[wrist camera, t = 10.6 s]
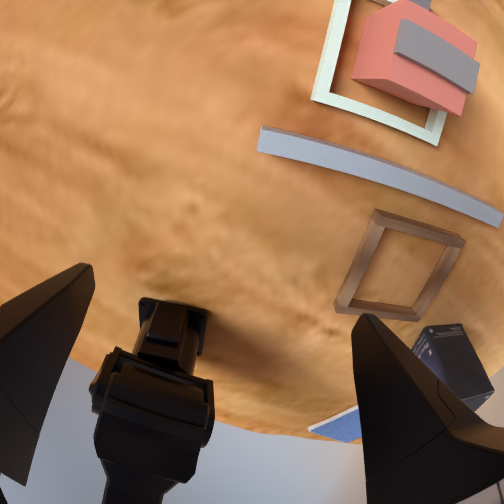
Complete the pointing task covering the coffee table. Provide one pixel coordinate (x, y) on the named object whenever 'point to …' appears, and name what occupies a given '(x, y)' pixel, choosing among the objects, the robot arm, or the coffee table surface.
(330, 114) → the coffee table surface
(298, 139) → the door edge rail
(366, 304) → the frame
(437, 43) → the block
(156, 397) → the robot arm
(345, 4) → the socket
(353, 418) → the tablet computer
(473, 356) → the small box
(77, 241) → the coffee table surface
